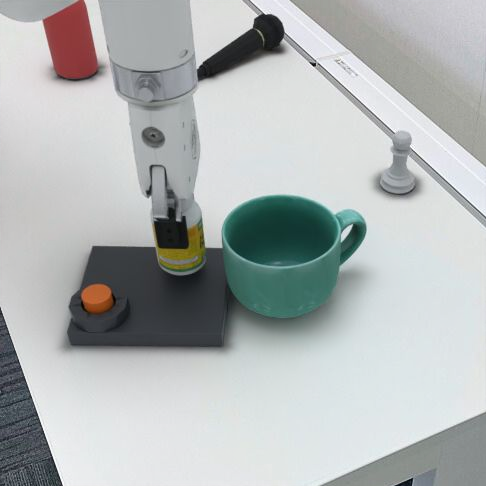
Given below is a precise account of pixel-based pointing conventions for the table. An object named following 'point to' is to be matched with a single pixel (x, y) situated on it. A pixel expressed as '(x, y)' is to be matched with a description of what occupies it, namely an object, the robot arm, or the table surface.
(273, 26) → the microphone
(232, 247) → the mug
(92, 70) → the beer can
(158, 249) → the supplement bottle
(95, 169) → the table surface
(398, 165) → the chess piece
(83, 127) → the table surface
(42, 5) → the robot arm
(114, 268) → the scale
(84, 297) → the button
